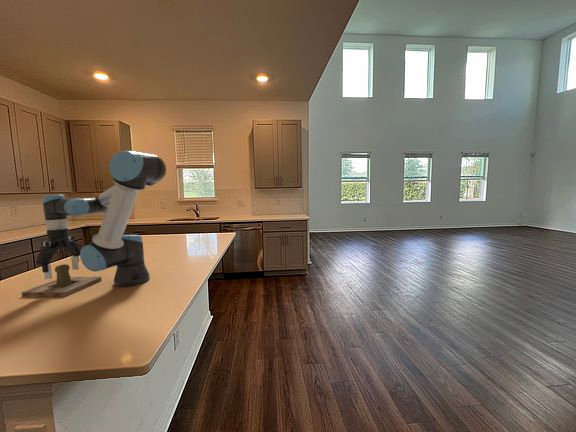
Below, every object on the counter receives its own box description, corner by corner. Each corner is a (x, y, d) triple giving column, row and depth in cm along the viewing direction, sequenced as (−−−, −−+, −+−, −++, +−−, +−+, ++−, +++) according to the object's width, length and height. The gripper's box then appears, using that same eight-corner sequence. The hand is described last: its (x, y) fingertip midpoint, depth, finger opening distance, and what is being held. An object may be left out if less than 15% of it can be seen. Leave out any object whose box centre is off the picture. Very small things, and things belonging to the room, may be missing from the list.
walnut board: (101, 280, 132) (101, 276, 132) (64, 296, 112) (64, 292, 112) (64, 280, 134) (64, 276, 134) (21, 296, 114) (21, 292, 114)
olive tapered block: (63, 290, 119) (60, 267, 118) (52, 290, 121) (49, 266, 120) (76, 286, 125) (73, 263, 124) (65, 285, 127) (63, 263, 125)
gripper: (74, 224, 133) (78, 266, 135) (20, 233, 108) (27, 283, 110) (87, 224, 132) (92, 266, 134) (37, 233, 108) (43, 283, 110)
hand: (63, 274), depth 122 cm, fingers open, 13 cm apart
